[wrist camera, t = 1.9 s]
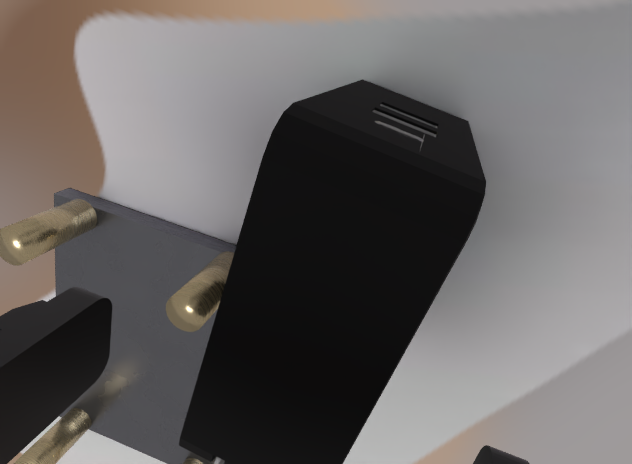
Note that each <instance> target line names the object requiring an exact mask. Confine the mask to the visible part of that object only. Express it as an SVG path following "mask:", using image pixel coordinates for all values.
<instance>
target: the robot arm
mask: <svg viewBox="0 0 632 464" xmlns="http://www.w3.org/2000/svg"><path fill="white" fill-rule="evenodd" d="M111 323H112V303H111V301H110V299H108V298H106V297H103V296H101V295H98V294H95V293H93V292H90V291H88V290H85V289H82V288H80V287H72V288H70V289H68V290H66V291H64V292H63V293H61V294H59V295H58V296H56V297H54V298H53V299H51V300H49V301H48V302H46V301H43V300H41V301H38V302H35V303H31V304H28V305H25V306H21V307H18V308H15V309H12V310H10V311H9V312H7V313H5V314H4V315H2V316H0V464H7V463H8V462H9V461H10V460H12V459H13V458H14V457H15V456H16V455H17V454H18V453H19V452H20V451H21V450H23V449H24V448H25V447H26V446H27V445H28V444H29V443H30V442H31V441H32V440H33V439H34V438H36V437H37V436H38V435H39V434H40V433H41V432H42V431H43V430H44V429H45V428H46V427H47V426H49V425H50V424H51V423H52V422H53V421H54V420H55V419H56V418H57V417H58V416H59V415H60V414H62V413H63V412H64V411H65V410H66V409H67V408H68V407H69V406H70V405H71V404H72V403H74V402H75V401H76V400H77V399H78V398H79V397H80V396H81V395H82V394H83V393H84V392H85V391H87V390H88V389H89V388H90V387H91V386H92V385H93V384H94V383H95V382H96V381H97V380H98V379H99V377H100V376H101V374H102V373H103V371H104V369H105V367H106V365H107V362H108V359H109V354H110V339H111ZM473 464H529V463H528V461H526V460H524V459H521V458H519V457H516V456H513V455H511V454H508V453H506V452H503V451H500V450H498V449H495V448H493V447H490V446H484V447H483V448H482V449H481V450H480V452H479V454H478V456H477V457H476V459H475V461H474V463H473Z"/></svg>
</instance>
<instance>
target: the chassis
mask: <svg viewBox="0 0 632 464" xmlns="http://www.w3.org/2000/svg"><path fill="white" fill-rule="evenodd" d="M54 248H55V276H56V296H58V295H59V294H61V293H63V292H64V291H66V290H68V289H70V288H72V287H80V288H82V289H85V290H88V291H90V292H93V293H95V294H98V295H101V296H103V297H106V298H108V299H110V301H111V303H112V323H111V339H110V354H109V359H108V362H107V365H106V367H105V369H104V371H103V373H102V374H101V376H100V377H99V379H98V380H97V381H96V382H95V383H94V384H93V385H92V386H91V387H90V388H89V389H88V390H87V391H85V392H84V393H83V394H82V395H81V396H80V397H79V398H78V399H77V400H76V401H75V402H74V403H72V404H71V405H70V406H69V407H68V408H67V409H66V410H65V411H64V412H63V413H62V414H60V415H59V416H60V417H62V418H61V419H60V420H59V421H58V422H57V423H56V424H55V425H54V426H53V427H52V428H51V429H49V430H48V431H47V432H46V433H45V434H44V435H43V436H42V437H41V438H40V439H39V440H38V441H37V442H36V443H35V444H34V445H33V446H32V447H31V448H29V449H28V450H27V451H26V452H25V453H24V454H23V455H22V456H21V457H20V458H19V459H18V460H17V461H16V462H15V463H14V464H56V463H57V462H58V461H59V459H60V458H61V457H62V456H63V455H64V454H65V453H66V452H67V451H68V450H69V449H70V448H71V447H72V446H73V445H74V444H75V443H76V442H77V441H78V440H79V438H80V437H81V436H82V435H83V434H84V433H85V432H86V431H87V430H88V429H90V430H92V431H94V432H96V433H99V434H101V435H103V436H106V437H108V438H110V439H112V440H115V441H117V442H119V443H122V444H124V445H126V446H128V447H131V448H133V449H135V450H138V451H140V452H142V453H144V454H147V455H149V456H151V457H154V458H156V459H158V460H160V461H163V462H165V463H167V464H214V462H215V460H216V458H215V459H214V460H213V461H212V462H210V461H208V460H206V459H204V458H202V457H200V456H198V455H196V454H194V453H192V452H190V451H188V450H187V449H185V448H183V447H181V446H179V440H180V435H181V432H182V429H183V425H184V422H185V418H186V415H187V412H188V408H189V405H190V401H191V398H192V395H193V391H194V388H195V385H196V381H197V378H198V374H199V371H200V368H201V364H202V361H203V357H204V354H205V351H206V347H207V344H208V341H209V337H210V334H211V330H212V327H213V324H214V320H215V317H216V313H217V310H218V307H219V303H220V300H221V297H222V293H223V290H224V286H225V283H226V280H227V276H228V273H229V269H230V266H231V263H232V259H233V256H234V253H235V249H236V245H233V244H230V243H227V242H224V241H221V240H219V239H216V238H213V237H210V236H207V235H204V234H201V233H198V232H196V231H193V230H190V229H187V228H184V227H181V226H178V225H175V224H173V223H170V222H167V221H164V220H161V219H158V218H155V217H152V216H150V215H147V214H144V213H141V212H138V211H135V210H132V209H129V208H126V207H124V206H121V205H118V204H115V203H112V202H109V201H106V200H103V199H101V198H98V197H95V196H92V195H89V194H86V193H83V192H80V191H78V190H75V189H72V188H68V189H65V190H62V191H59V192H57V193H54V208H52V209H50V210H47V211H44V212H42V213H39V214H37V215H34V216H32V217H29V218H27V219H24V220H22V221H19V222H17V223H14V224H12V225H9V226H7V227H4V228H2V229H0V256H1V257H2V258H3V259H4V260H5V261H6V262H8V263H9V264H12V265H17V266H18V265H22V264H23V263H26V262H28V261H30V260H32V259H34V258H36V257H38V256H40V255H42V254H43V253H46V252H48V251H50V250H52V249H54ZM224 462H225V461H224ZM223 464H224V463H223Z"/></svg>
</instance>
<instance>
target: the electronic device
mask: <svg viewBox="0 0 632 464" xmlns="http://www.w3.org/2000/svg"><path fill="white" fill-rule="evenodd" d="M485 187H486V180H485V177H484V173H483V170H482V167H481V163H480V160H479V156H478V153H477V150H476V146H475V143H474V140H473V136H472V133H471V129H470V126H469V123H468V121H466V120H463V119H461V118H458V117H456V116H453V115H451V114H448V113H446V112H443V111H441V110H438V109H435V108H433V107H430V106H428V105H425V104H423V103H420V102H418V101H415V100H413V99H410V98H408V97H405V96H403V95H400V94H398V93H395V92H393V91H390V90H388V89H385V88H382V87H380V86H377V85H375V84H372V83H370V82H367V81H365V80H360V81H357V82H354V83H351V84H348V85H345V86H343V87H340V88H337V89H334V90H331V91H328V92H325V93H322V94H319V95H316V96H313V97H310V98H307V99H304V100H301V101H298V102H295V103H293V104H292V105H291V106H290V107H288V108H287V109H286V110H285V111H284V112H283V114H282V116H281V117H280V119H279V121H278V123H277V124H276V126H275V128H274V130H273V132H272V134H271V136H270V139H269V142H268V144H267V147H266V150H265V152H264V155H263V158H262V161H261V165H260V168H259V171H258V175H257V178H256V181H255V185H254V188H253V192H252V195H251V198H250V202H249V205H248V209H247V212H246V215H245V219H244V222H243V225H242V229H241V232H240V236H239V239H238V242H237V246H236V249H235V253H234V256H233V259H232V263H231V266H230V269H229V273H228V276H227V280H226V283H225V286H224V290H223V293H222V297H221V300H220V303H219V307H218V310H217V313H216V317H215V320H214V324H213V327H212V330H211V334H210V337H209V341H208V344H207V347H206V351H205V354H204V357H203V361H202V364H201V368H200V371H199V374H198V378H197V381H196V385H195V388H194V391H193V395H192V398H191V401H190V405H189V408H188V412H187V415H186V418H185V422H184V425H183V429H182V432H181V435H180V440H179V446H181V447H183V448H185V449H187V450H188V451H190V452H192V453H194V454H196V455H198V456H200V457H202V458H204V459H206V460H208V461H210V462H212V461H213V460H214V459H215V458H216V460H215V462H214V464H223V463H224V464H343V462H344V460H345V458H346V457H347V455H348V453H349V451H350V449H351V448H352V446H353V444H354V442H355V441H356V439H357V437H358V435H359V433H360V432H361V430H362V428H363V426H364V424H365V423H366V421H367V419H368V417H369V415H370V414H371V412H372V410H373V408H374V406H375V405H376V403H377V401H378V399H379V397H380V396H381V394H382V392H383V390H384V389H385V387H386V385H387V383H388V381H389V380H390V378H391V376H392V374H393V372H394V371H395V369H396V367H397V365H398V363H399V362H400V360H401V358H402V356H403V354H404V353H405V351H406V349H407V347H408V345H409V344H410V342H411V340H412V338H413V337H414V335H415V333H416V331H417V329H418V328H419V326H420V324H421V322H422V320H423V319H424V317H425V315H426V313H427V311H428V310H429V308H430V306H431V304H432V302H433V301H434V299H435V297H436V295H437V293H438V292H439V290H440V288H441V286H442V285H443V283H444V281H445V279H446V277H447V276H448V274H449V272H450V270H451V268H452V267H453V265H454V263H455V261H456V259H457V258H458V256H459V254H460V252H461V250H462V249H463V247H464V245H465V243H466V241H467V240H468V238H469V236H470V234H471V231H472V229H473V227H474V225H475V223H476V220H477V218H478V215H479V212H480V209H481V206H482V202H483V199H484V196H485ZM224 461H225V462H224Z"/></svg>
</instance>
